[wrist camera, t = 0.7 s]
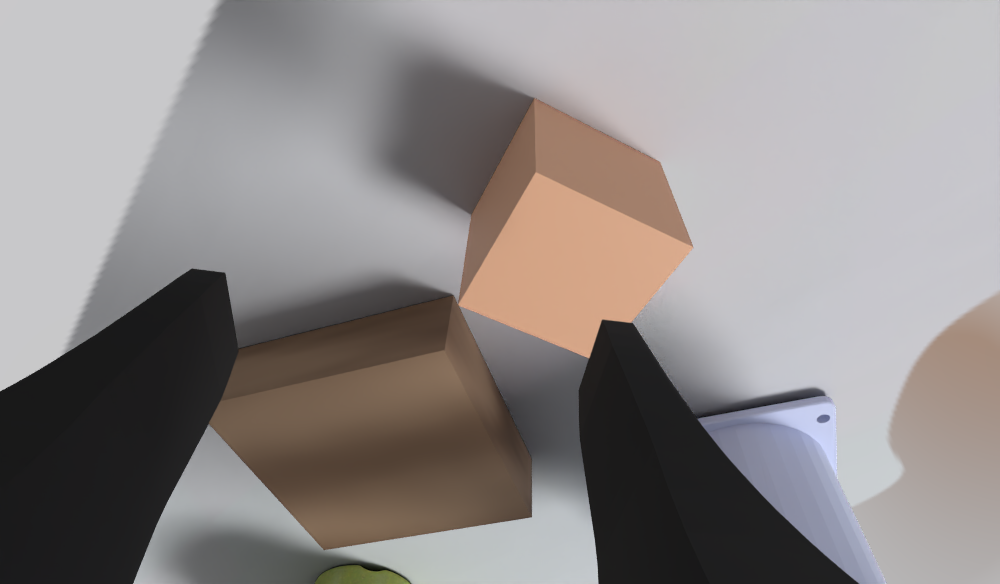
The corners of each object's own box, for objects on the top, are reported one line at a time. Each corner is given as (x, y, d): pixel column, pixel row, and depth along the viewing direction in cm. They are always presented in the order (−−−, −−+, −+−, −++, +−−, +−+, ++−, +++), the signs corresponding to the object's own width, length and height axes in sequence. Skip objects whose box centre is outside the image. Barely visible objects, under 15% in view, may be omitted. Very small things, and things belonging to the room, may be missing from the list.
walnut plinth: (531, 459, 28) (531, 517, 26) (340, 493, 31) (324, 550, 28) (453, 295, 23) (444, 350, 20) (226, 352, 25) (193, 407, 23)
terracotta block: (659, 161, 19) (693, 247, 15) (585, 265, 22) (598, 362, 18) (534, 97, 18) (535, 171, 14) (471, 213, 21) (458, 305, 17)
